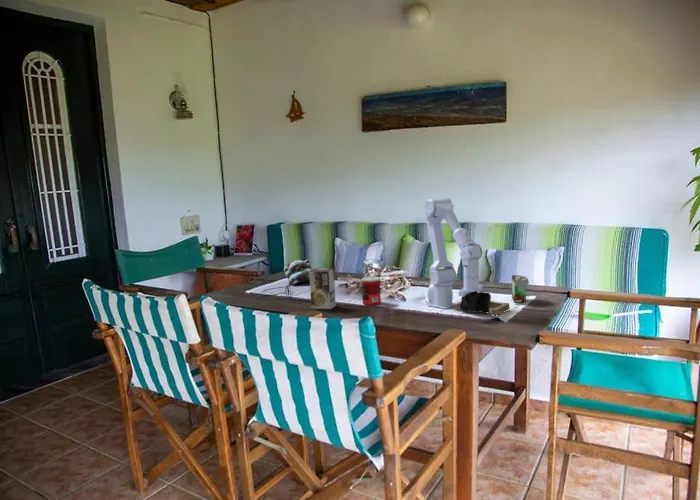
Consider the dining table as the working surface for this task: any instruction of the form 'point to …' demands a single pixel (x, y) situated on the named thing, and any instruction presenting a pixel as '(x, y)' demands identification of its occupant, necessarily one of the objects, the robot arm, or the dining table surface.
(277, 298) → the dining table surface
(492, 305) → the frame
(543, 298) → the dining table surface
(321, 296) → the coffee box
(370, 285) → the canned food
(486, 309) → the digital camera
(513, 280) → the food container
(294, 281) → the grey lumpy clump
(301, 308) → the dining table surface
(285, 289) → the glasses
